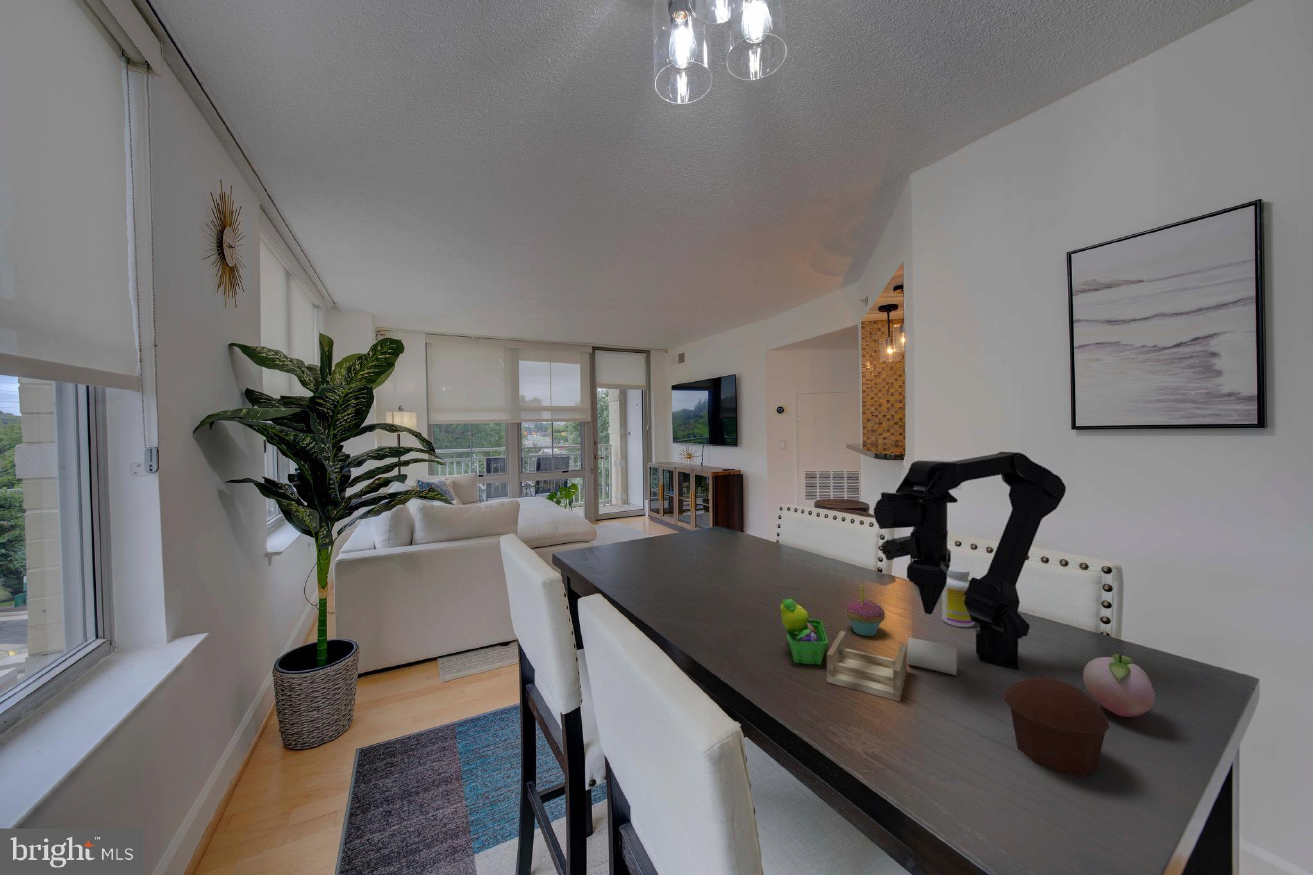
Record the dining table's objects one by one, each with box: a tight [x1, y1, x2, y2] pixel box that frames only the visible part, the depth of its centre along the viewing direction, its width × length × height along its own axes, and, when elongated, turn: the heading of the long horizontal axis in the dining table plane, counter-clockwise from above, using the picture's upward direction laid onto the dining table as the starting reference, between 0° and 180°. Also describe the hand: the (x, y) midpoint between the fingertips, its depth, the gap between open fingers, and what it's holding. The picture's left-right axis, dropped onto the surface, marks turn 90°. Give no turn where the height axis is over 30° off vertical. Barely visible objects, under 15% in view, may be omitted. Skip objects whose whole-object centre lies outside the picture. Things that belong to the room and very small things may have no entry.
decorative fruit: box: [1082, 653, 1156, 718], centre depth 77 cm, size 9×8×10 cm
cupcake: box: [844, 581, 886, 637], centre depth 110 cm, size 9×8×12 cm
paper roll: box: [907, 637, 958, 676], centre depth 93 cm, size 8×5×5 cm, turn 57°
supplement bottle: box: [941, 565, 975, 628], centre depth 114 cm, size 7×7×13 cm
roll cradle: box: [826, 630, 908, 702], centre depth 90 cm, size 12×12×5 cm
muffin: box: [1003, 676, 1110, 777], centre depth 68 cm, size 12×11×10 cm
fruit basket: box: [779, 598, 829, 666], centre depth 99 cm, size 11×9×11 cm
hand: (930, 605), depth 93 cm, fingers open, 9 cm apart
